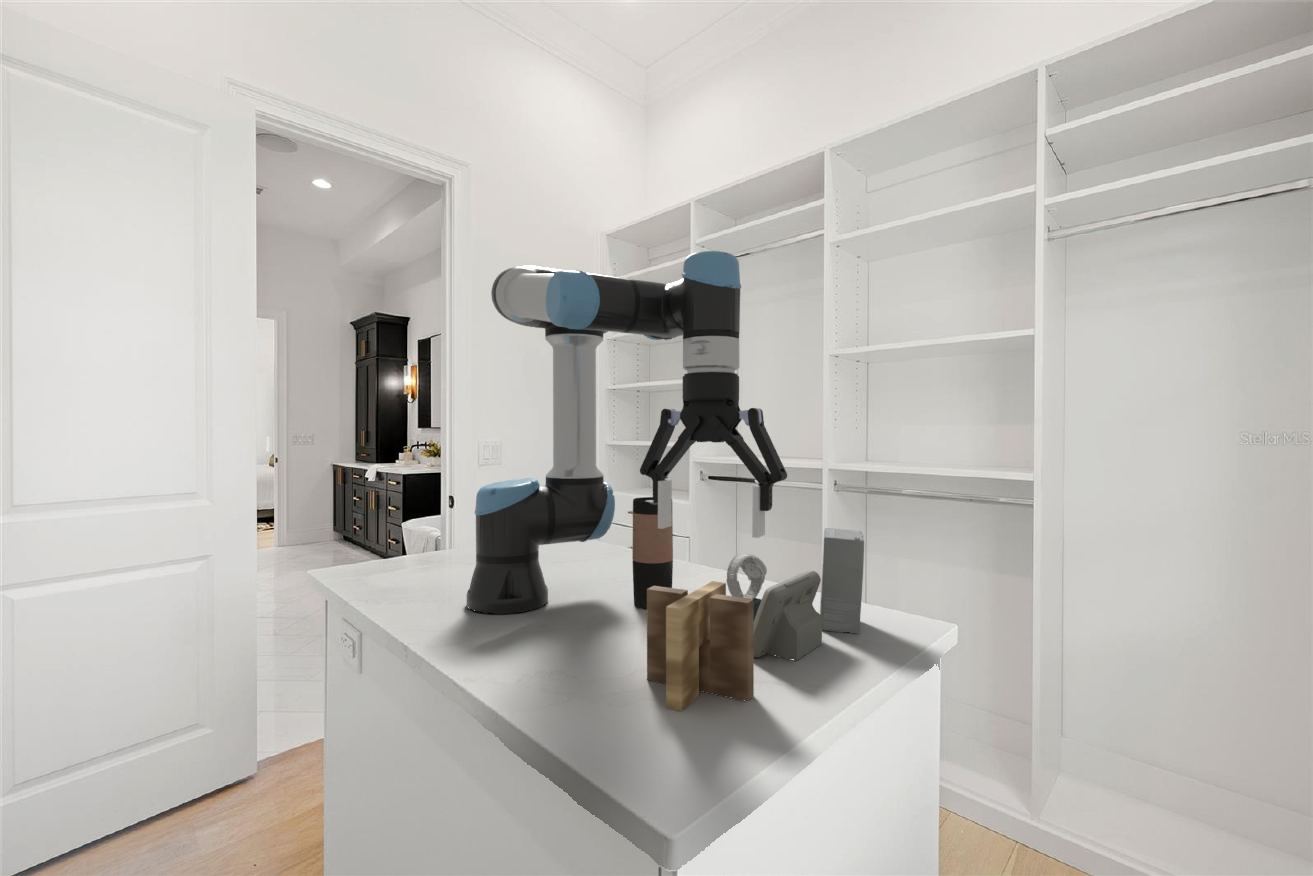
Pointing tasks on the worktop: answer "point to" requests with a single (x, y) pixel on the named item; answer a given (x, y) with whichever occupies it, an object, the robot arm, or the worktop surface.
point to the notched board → (687, 643)
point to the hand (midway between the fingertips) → (709, 531)
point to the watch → (754, 573)
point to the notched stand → (708, 643)
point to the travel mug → (650, 551)
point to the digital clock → (789, 618)
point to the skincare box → (842, 580)
